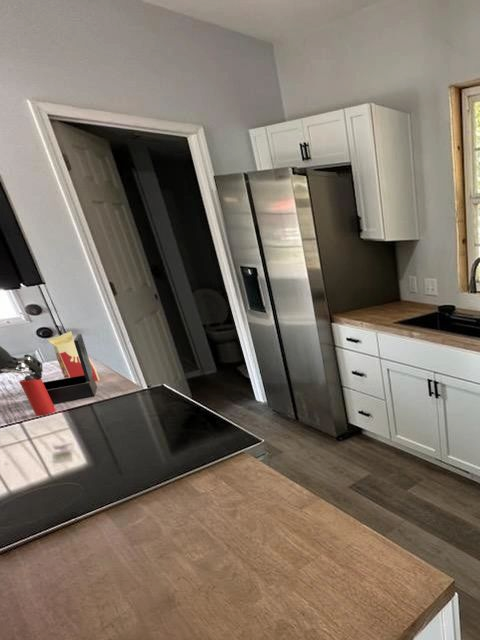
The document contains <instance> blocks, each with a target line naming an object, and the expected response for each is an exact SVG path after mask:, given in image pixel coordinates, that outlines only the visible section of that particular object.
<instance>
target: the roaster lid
mask: <svg viewBox="0 0 480 640" xmlns="http://www.w3.org/2000/svg"><path fill="white" fill-rule="evenodd" d="M74 343H75V346H76V350H77V353H78V356H79V359H80V362H81V366H82V369H83V372H84V375H85V378H86V382H88V381H90V380H91V376H92V373H93V371H92V367H91V364H90V361H89V359H90V357H89V355H88V352H87V348H86V344H85V342H84V338H83V335H82V333H77V335H76V336H75V338H74ZM88 357H89V358H88Z"/></svg>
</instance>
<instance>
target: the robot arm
mask: <svg viewBox="0 0 480 640" xmlns="http://www.w3.org/2000/svg"><path fill="white" fill-rule="evenodd" d="M42 372H43V363H42V362H41V361H39V360H38V359H37V358H35V357H34V356H32V355H31V354H24V355H23V357H19V358H17V357H15V356H12V355H11V354H10V353H9V352H8V351H7V350H6V349H5V348H4V347H2V346H1V345H0V375H1V374H6V373H7V374H9V373H14V374H20V375H21V374H27V375H31V376H32V377H33V378H35V379H36V380H41V379H42V378H43V373H42Z"/></svg>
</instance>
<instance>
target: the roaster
mask: <svg viewBox="0 0 480 640" xmlns="http://www.w3.org/2000/svg"><path fill="white" fill-rule="evenodd" d="M96 382H97V381H95V380H94V378H93V375H92V376H91V380H90V381H88V382H86V378H85V375H81V376H76V377H70V378H64V377H63V378H59V379H53V380H47V381H43V384H44V386H45V388H46V390H47V392H48V394H49V396H50V399H51V401H52V403H53V405H54V406H55V405H58V404H64V403H69V402H75V401H78V400H84V399H89V398H93V397H95V396H96V393H97V389H98V385H97V383H96Z"/></svg>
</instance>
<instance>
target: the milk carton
mask: <svg viewBox="0 0 480 640" xmlns="http://www.w3.org/2000/svg"><path fill="white" fill-rule="evenodd" d="M74 340H75V338H74V336H73V332H72V330H70V331H68V332H66V333H62V334H61V335H59V336H55V337H50V338H47V339H46V341H47V342H49V343H50V344H52V345H53V349H54V351H55V352H54V353H55V356H56V359H57V362H58V366H59V367H60V370H61V373H62V375H63V379H64V378H70V377H76V376H81V375H84V372H83V369H82V366H81V362H80V359H79V356H78V353H77V350H76V346H75V343H74ZM88 358H89V361H90V364H91V367H92V371H93V373H92V375H93V378H94V380H95V382H99V381H100V377H99V374H98V371H97V369H96V367H95V365H94V364H93V362H92V361H91V359H90V357H89V356H88Z"/></svg>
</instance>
